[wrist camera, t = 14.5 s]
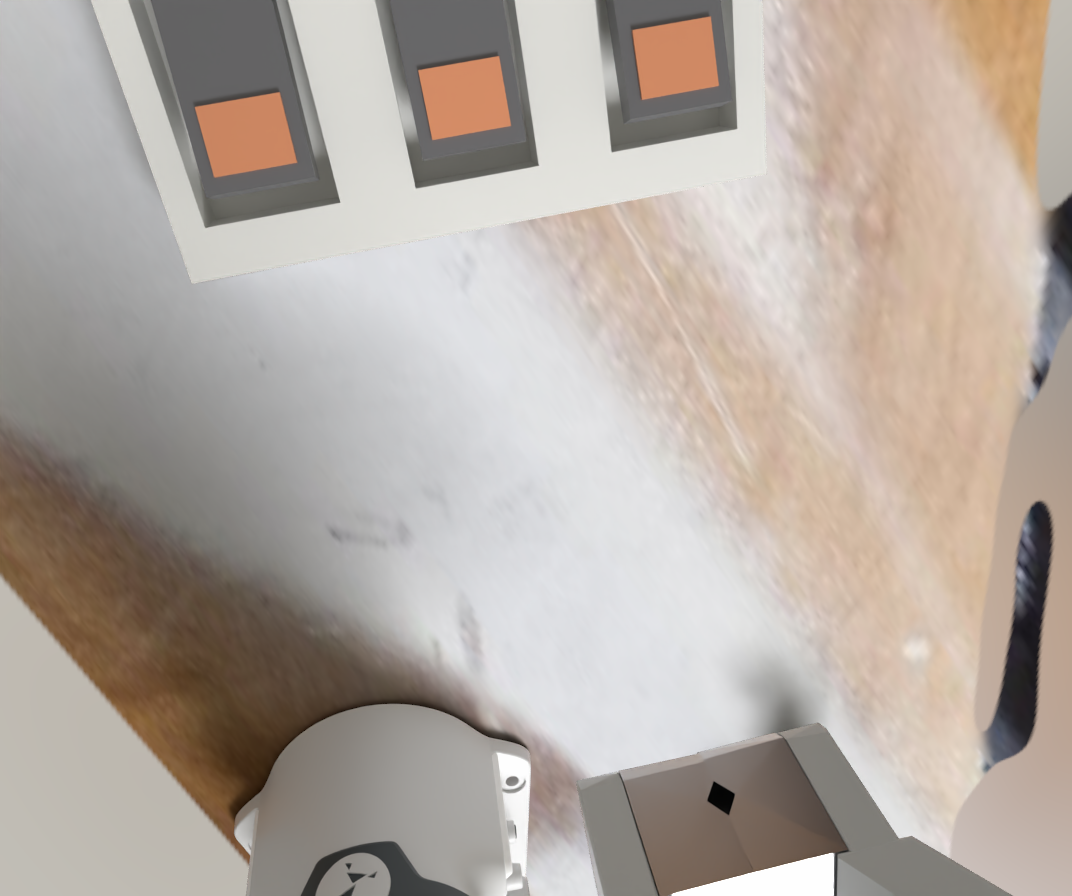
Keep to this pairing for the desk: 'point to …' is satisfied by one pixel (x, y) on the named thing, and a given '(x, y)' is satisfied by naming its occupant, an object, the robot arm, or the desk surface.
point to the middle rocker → (459, 75)
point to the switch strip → (393, 147)
